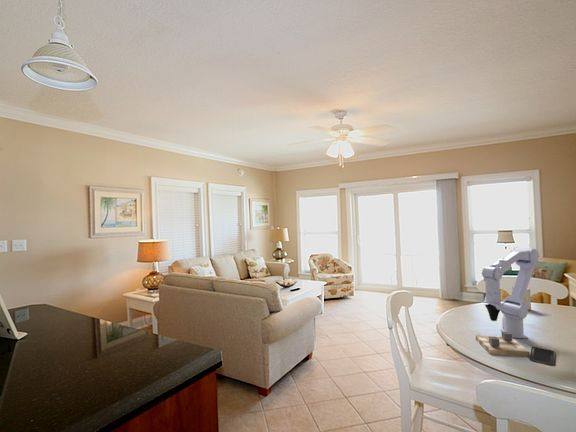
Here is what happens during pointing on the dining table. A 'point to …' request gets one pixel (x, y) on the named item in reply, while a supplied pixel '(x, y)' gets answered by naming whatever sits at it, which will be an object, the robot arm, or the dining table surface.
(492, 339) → the switch tab
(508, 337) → the switch tab
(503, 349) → the switch board
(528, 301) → the supplement box
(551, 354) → the phone
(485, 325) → the dining table surface
